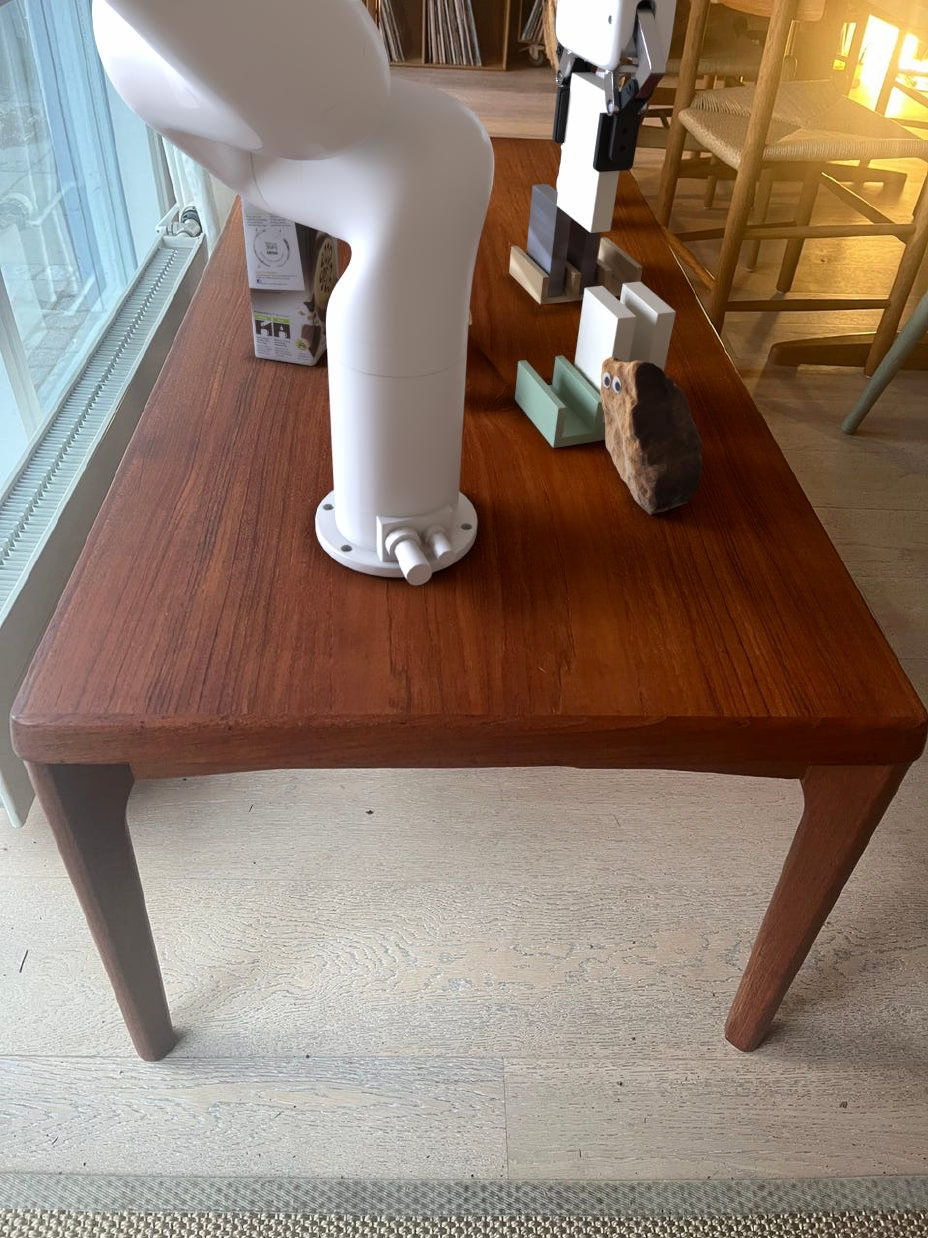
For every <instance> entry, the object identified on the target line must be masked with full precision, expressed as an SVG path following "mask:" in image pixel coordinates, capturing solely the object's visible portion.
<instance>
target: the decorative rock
mask: <svg viewBox="0 0 928 1238" xmlns="http://www.w3.org/2000/svg"><path fill="white" fill-rule="evenodd" d="M666 376H667V377H666ZM674 384H675V382H674V379H673V378H672V377H671V376H669V375H666V373H665V370H664V371H663V370H662V369H661V368H659V367H657V366H656V365H654V364H653V363H648V362H643V361H639V360H637V361H633V362H629V363H628V362H626V361H622V360H619V359H617V358H616V357H609V358H608V359H606V360H605V361H604V362H603V364H602V372H601V390H600V395H601V401H602V406H603V410H604V414H605V423H606V427H605V440H604V441H605V447H606V449H607V451H608V452H609V454H610V456H611V460H612V462H613V465H614V466H615V468H616V471H617V472H618V474H619V476H620V479H622V481H624V483H625V484H626V486H627V487H628V489H629V490H630V494H631V495H632V497H633V499H634V501H635V502H636V503H637V504H638V505H639V506H640V507H641V508H642V509H643V510H644V511H645V512H646V513H647V514H648V515H654V514H658V513H663V512H666V511H668V510H671V509H675V508H676V507H680V506H683V505H684V504H685V505H687V504H688V503H689V502H691V500H692V499H693V498H694V495H693V494H694V493H695V492H696V491H697V490H699V483H700V480H701V476H702V469H703V457H702V449H703V440H702V437H701V435H700V434H699V430H698V427H697V426H696V424H695V423H696V422H695V421H694V420H693V417H692V412H691V409H690V405H689V399H688V397H687V396H686V394H685V391H684V390H683V389H682V388H681V387H679V386H678V385H676V384H675V385H674Z"/></svg>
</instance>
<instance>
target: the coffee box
mask: <svg viewBox="0 0 928 1238" xmlns="http://www.w3.org/2000/svg"><path fill="white" fill-rule="evenodd" d="M240 202H241V203H240V204H241V214H242V225H243V238H244V246H245V247H244V248H245V258H246V268H247V280H248V289H249V290H248V291H249V298H250V299H249V300H250V309H251V310H250V311H251V320H252V321H251V322H252V332H253V342H254V355H255V357H256V358H258V359H259V358H260V359H265V360H272V361H277V362H279V361H280V362H285V363H290V364H297V365H302V366H303V365H304V366H310V367H313V366H316V364H317V362H318V361H319V359H320V358H321V356H322V355H323V354H324V353H325V351H326V350H327V337H326V314H327V307H328V303H329V299H330V296H331V294H332V291H333V290H334V288H335V286H336V284H337V283H338V281H339V280H340V278H339V277H340V275H339V274H340V273H339V256H338V255H339V253H338V252H339V251H338V238H336V237H333V236H331V235H329V234H328V233H326V232H323V231H320V230H317V229H314V228H311V227H308V226H305V225H302V224H299V223H297V222H294V221H291V220H287V219H284V218H282V217H279V216H276V215H274V214H271V213H269V212H266V211H264V210H262V209H260V208H258V207H257V206H255V205H253V204H252V203H250V202H248V201H247V200H245V199H244V198H242V197H241V196H240Z"/></svg>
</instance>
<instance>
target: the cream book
mask: <svg viewBox="0 0 928 1238" xmlns="http://www.w3.org/2000/svg"><path fill="white" fill-rule="evenodd" d="M621 89H622V88H621V87H620V86H619V92H620V91H621ZM604 112H606V104H605V83H604V79H603V78H601V77H600V76H598V75H596V74H594V73H592V72H582V73H572V78H571V86H570V95H569V104H568V112H567V121H566V130H565V138H564V147H563V155H562V154H561V155H562V164H561V163H560V164H561V173H560V181H559V190H558V198H557V206H558V207H559V208H560V209H562V210H563V211H564V212H565V213H567V214H568V215H569V216H570V217H572V218H573V219H574V220H575V221H577V222H578V223H579V224H580V225H581V226H583V227H584V228H585V229H586V230H588V231H589V232H590V233H596V232H601V233H606V232H607V233H608V232H611V229H612V222H613V216H614V208H615V202H616V196H617V191H618V190H617V189H618V182H619V177H620V171H609V172H598V171H596V170H595V169H594V168H593V159H594V152H595V144H596V137H597V130H598V122H599V115H600V113H604Z"/></svg>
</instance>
